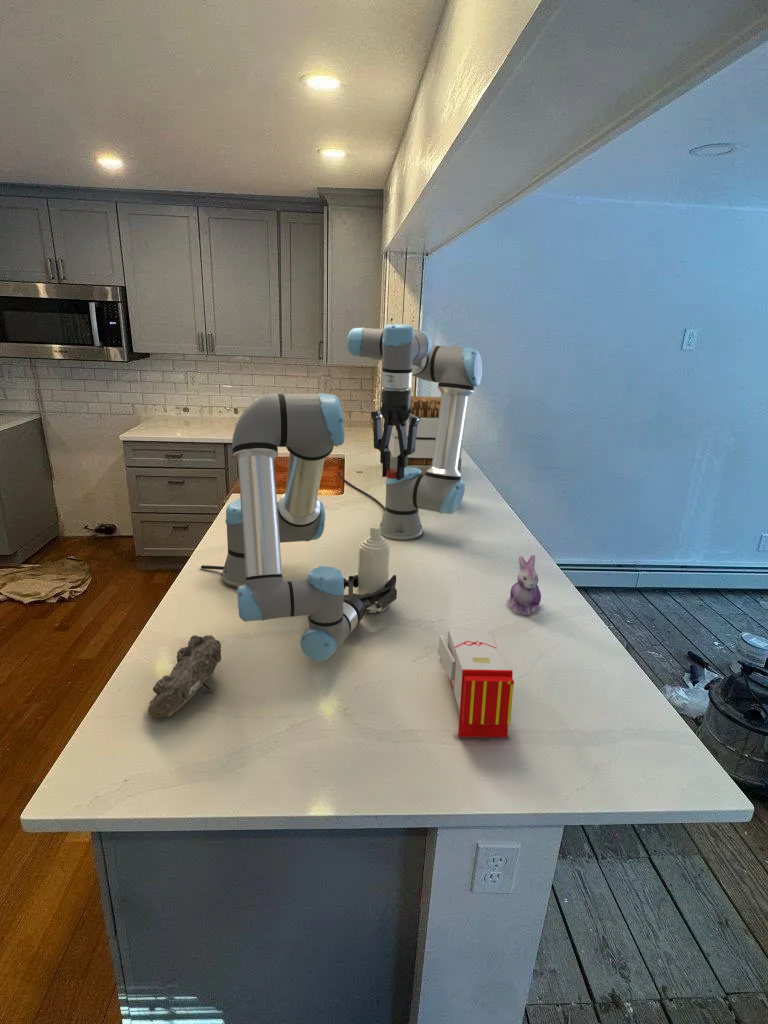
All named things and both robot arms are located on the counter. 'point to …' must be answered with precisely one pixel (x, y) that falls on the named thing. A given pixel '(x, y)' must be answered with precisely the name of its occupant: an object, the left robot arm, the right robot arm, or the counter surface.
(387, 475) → the cap
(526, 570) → the figurine
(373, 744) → the counter surface
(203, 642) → the fossil
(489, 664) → the toy
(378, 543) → the bottle
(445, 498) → the right robot arm
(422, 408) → the white slatted crate
